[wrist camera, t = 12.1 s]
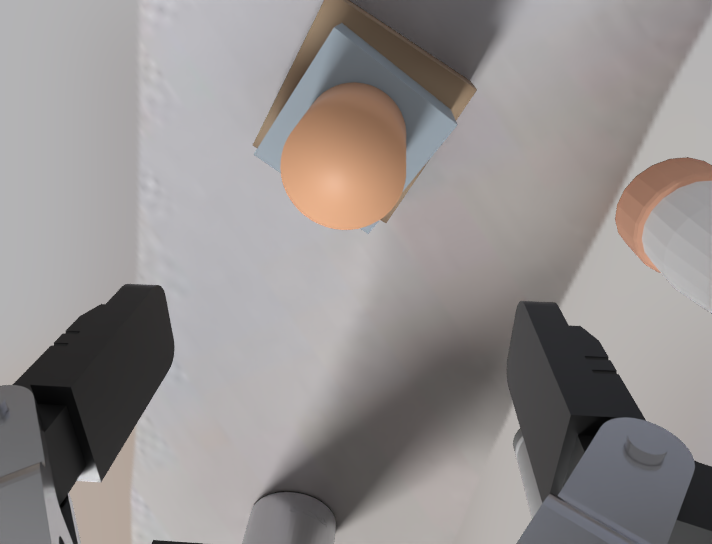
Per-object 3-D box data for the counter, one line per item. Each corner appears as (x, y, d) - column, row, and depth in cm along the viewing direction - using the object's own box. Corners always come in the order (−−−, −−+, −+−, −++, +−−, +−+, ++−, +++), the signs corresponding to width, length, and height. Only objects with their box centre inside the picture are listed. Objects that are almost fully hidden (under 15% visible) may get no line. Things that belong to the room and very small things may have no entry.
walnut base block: (387, 202, 38) (386, 223, 35) (266, 130, 37) (252, 145, 33) (468, 79, 34) (477, 89, 31) (336, -9, 32) (328, -9, 29)
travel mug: (514, 468, 50) (578, 728, 32) (510, 417, 47) (578, 673, 29) (583, 463, 49) (686, 728, 31) (583, 411, 46) (698, 671, 28)
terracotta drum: (370, 203, 30) (362, 250, 25) (285, 151, 29) (259, 189, 24) (427, 120, 28) (431, 153, 22) (336, 60, 26) (319, 80, 21)
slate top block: (371, 209, 35) (368, 234, 31) (269, 136, 33) (253, 154, 29) (450, 109, 31) (457, 124, 28) (341, 22, 29) (334, 27, 26)
